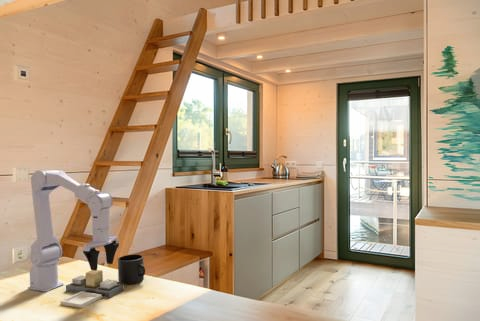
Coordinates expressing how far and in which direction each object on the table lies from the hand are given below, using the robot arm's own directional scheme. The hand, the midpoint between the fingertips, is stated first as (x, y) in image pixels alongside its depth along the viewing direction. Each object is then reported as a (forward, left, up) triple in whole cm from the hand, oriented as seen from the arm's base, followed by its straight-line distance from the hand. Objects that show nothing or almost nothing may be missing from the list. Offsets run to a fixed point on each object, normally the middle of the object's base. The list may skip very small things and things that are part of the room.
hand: (102, 266), depth 128 cm
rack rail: (-6, +2, -10) cm, 12 cm away
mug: (+1, +15, -10) cm, 18 cm away
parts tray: (-3, -7, -10) cm, 12 cm away
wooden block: (-6, +2, -10) cm, 12 cm away
